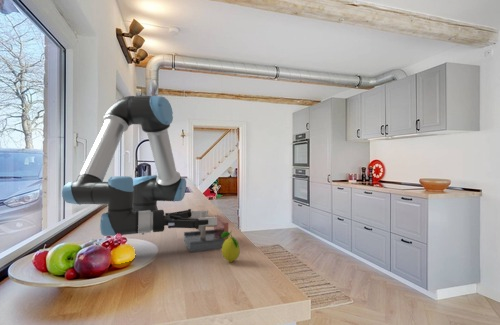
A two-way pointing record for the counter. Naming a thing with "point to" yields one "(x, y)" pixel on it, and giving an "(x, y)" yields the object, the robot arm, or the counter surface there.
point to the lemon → (230, 247)
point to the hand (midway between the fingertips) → (212, 216)
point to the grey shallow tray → (207, 237)
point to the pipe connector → (203, 228)
